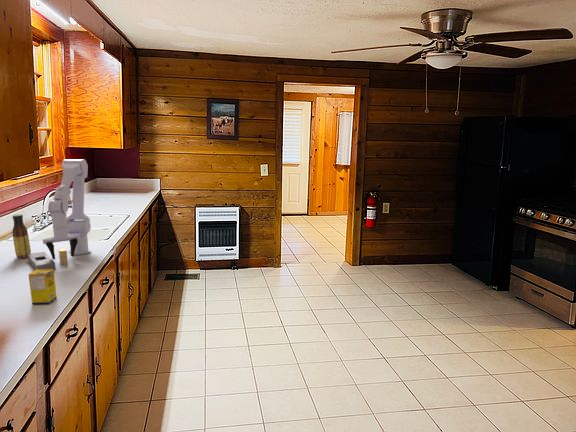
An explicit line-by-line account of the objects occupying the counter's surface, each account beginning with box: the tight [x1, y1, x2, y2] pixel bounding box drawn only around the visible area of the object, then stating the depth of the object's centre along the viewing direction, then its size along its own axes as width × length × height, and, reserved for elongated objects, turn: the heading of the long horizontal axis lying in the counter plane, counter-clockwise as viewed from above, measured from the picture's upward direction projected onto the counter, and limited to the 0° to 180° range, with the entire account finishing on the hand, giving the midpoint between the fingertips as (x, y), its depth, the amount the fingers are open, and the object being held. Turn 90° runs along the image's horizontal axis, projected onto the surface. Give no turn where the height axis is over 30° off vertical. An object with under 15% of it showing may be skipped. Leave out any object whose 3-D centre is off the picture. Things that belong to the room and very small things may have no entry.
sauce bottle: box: [12, 214, 32, 260], centre depth 223 cm, size 7×6×20 cm
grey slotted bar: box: [26, 251, 57, 271], centre depth 212 cm, size 22×7×3 cm, turn 37°
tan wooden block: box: [58, 248, 69, 265], centre depth 214 cm, size 4×2×6 cm, turn 37°
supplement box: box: [28, 269, 57, 305], centre depth 168 cm, size 6×6×11 cm
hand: (63, 257), depth 214 cm, fingers open, 7 cm apart
